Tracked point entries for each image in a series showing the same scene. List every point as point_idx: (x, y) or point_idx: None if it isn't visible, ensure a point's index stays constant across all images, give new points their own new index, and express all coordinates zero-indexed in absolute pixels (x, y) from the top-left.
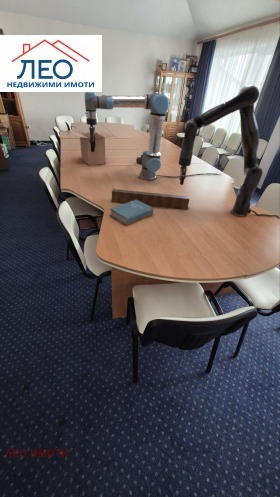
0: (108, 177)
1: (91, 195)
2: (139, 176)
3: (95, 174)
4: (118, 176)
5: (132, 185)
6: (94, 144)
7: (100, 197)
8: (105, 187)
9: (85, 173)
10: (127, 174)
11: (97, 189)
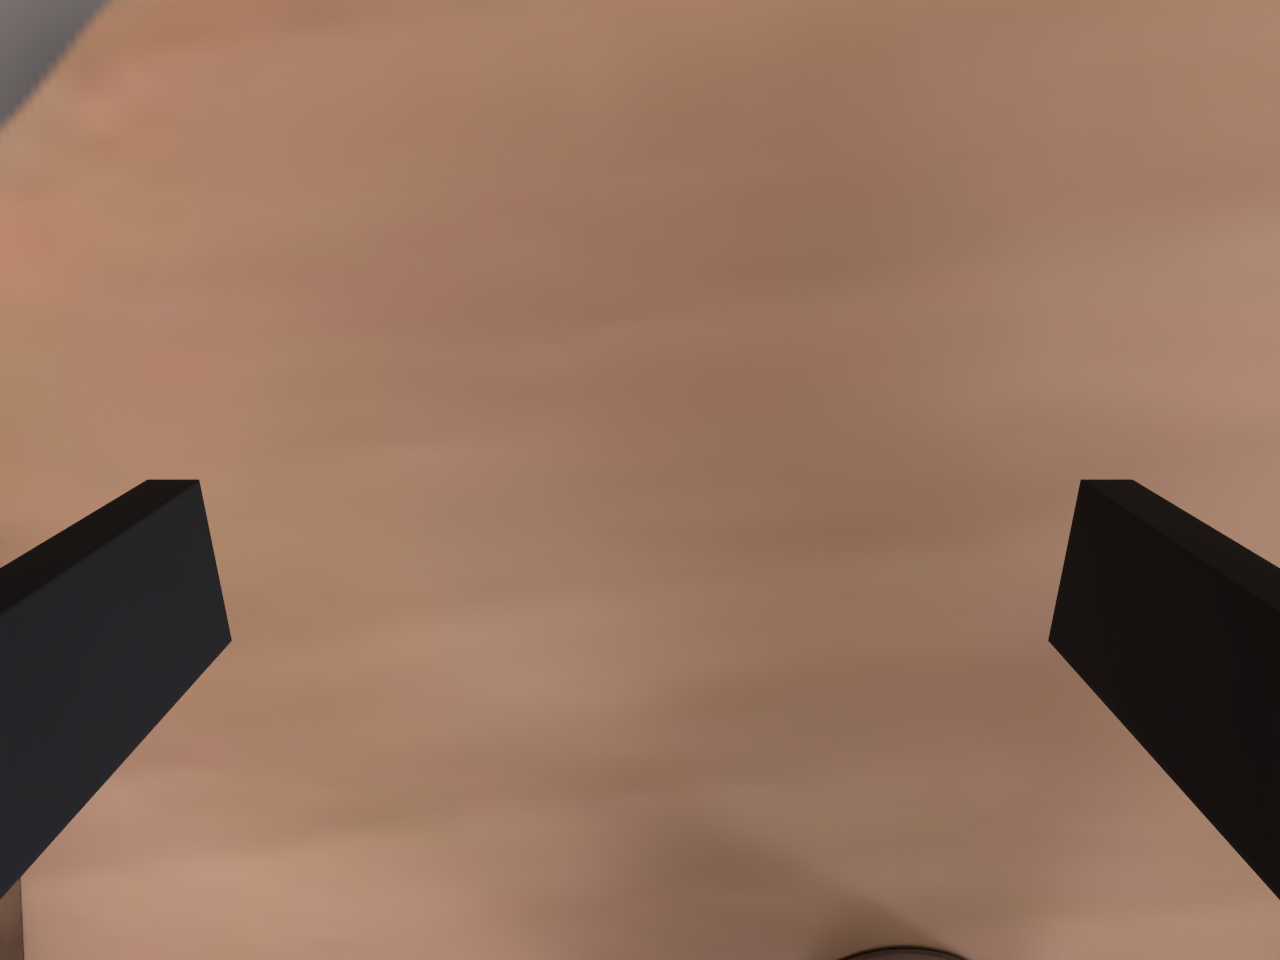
0: (918, 528)
1: (55, 270)
2: (906, 954)
3: (1112, 289)
4: (958, 682)
5: (562, 840)
6: (1153, 695)
7: (18, 414)
8: (438, 482)
9: (1210, 63)
10: (1044, 810)
11: (330, 357)
